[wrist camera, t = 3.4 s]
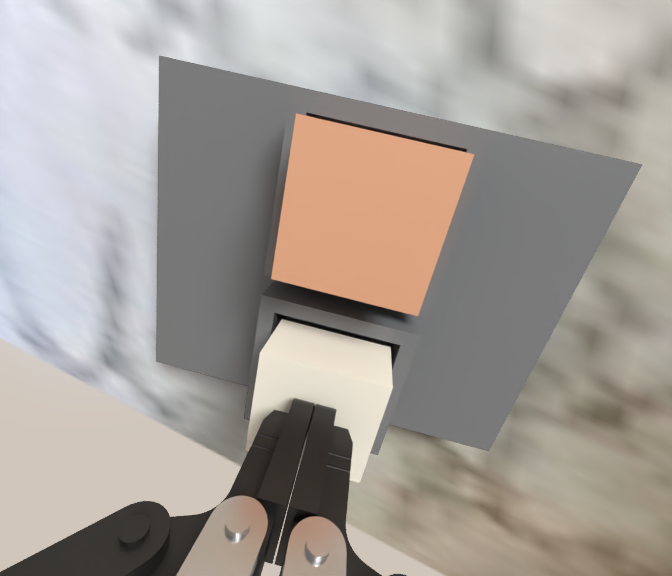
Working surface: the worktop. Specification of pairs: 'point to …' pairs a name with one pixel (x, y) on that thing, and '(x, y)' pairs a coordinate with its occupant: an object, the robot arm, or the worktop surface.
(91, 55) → the worktop surface
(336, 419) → the cream key
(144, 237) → the worktop surface
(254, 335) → the push button base
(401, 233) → the peach key
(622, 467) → the worktop surface
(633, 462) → the worktop surface
